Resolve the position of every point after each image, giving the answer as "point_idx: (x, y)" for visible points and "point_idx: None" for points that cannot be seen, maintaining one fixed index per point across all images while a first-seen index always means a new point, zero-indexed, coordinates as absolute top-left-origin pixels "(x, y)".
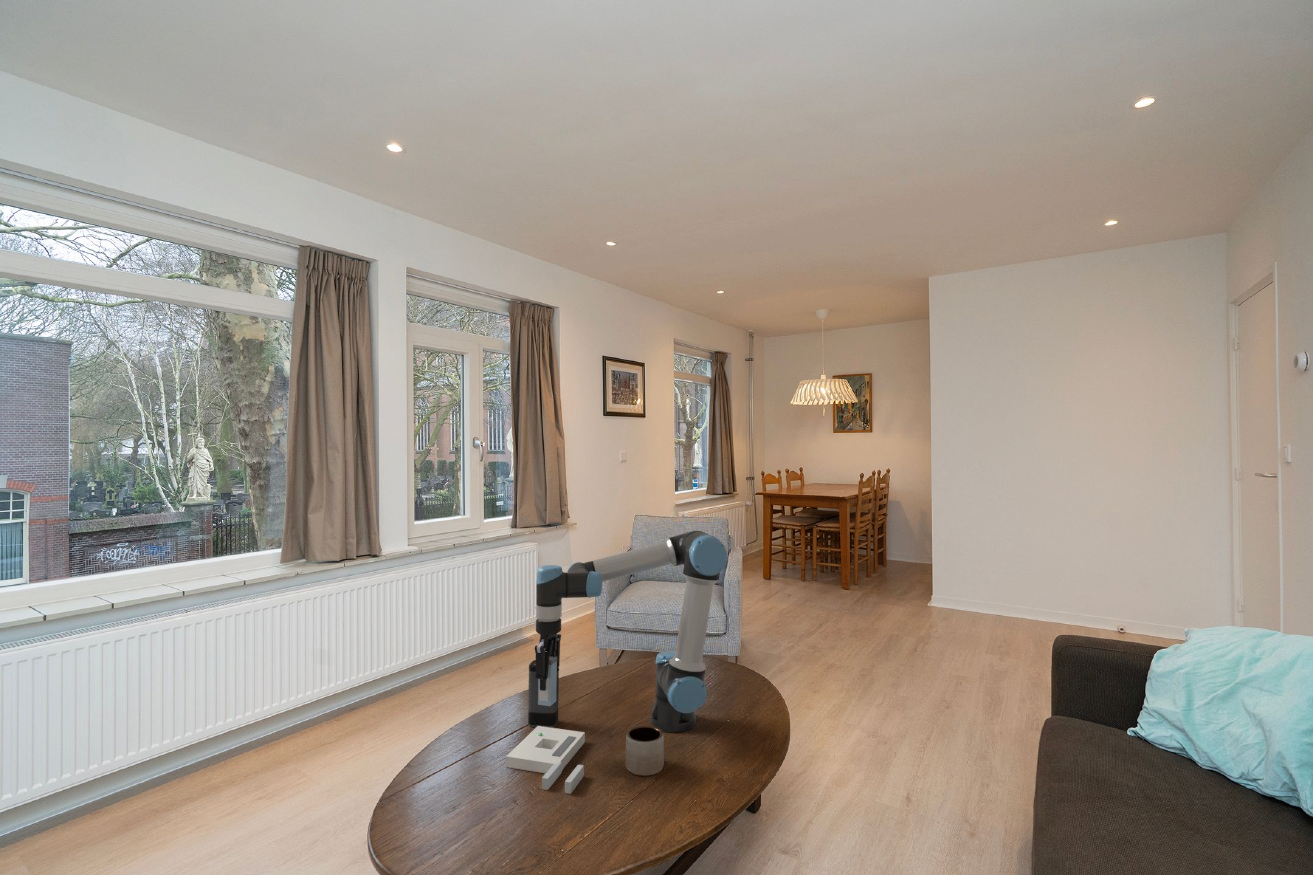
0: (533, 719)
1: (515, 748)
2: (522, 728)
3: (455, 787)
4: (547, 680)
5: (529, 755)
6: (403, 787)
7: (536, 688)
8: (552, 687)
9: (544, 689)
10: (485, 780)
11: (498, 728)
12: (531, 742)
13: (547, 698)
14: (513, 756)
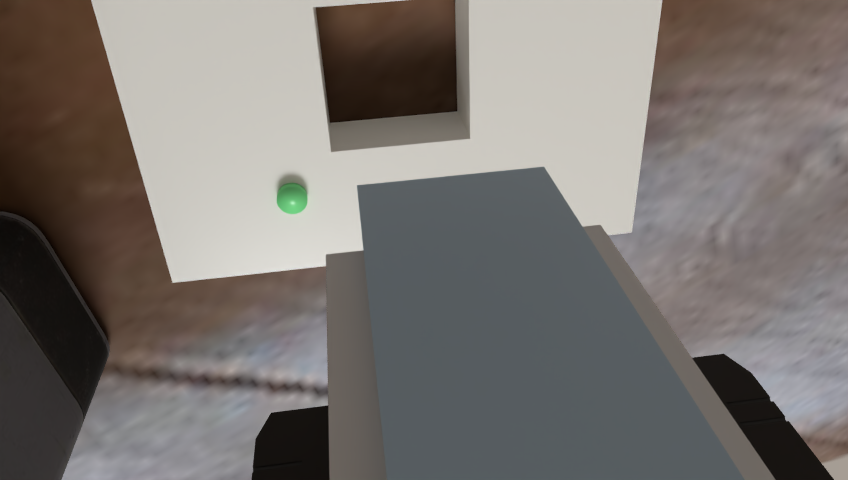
0: (89, 358)
1: None
2: (154, 367)
3: (823, 296)
4: (764, 470)
5: (593, 105)
6: (826, 452)
7: None
8: (557, 314)
9: (732, 367)
10: (755, 215)
11: (227, 461)
12: None
13: (612, 248)
14: (624, 192)
